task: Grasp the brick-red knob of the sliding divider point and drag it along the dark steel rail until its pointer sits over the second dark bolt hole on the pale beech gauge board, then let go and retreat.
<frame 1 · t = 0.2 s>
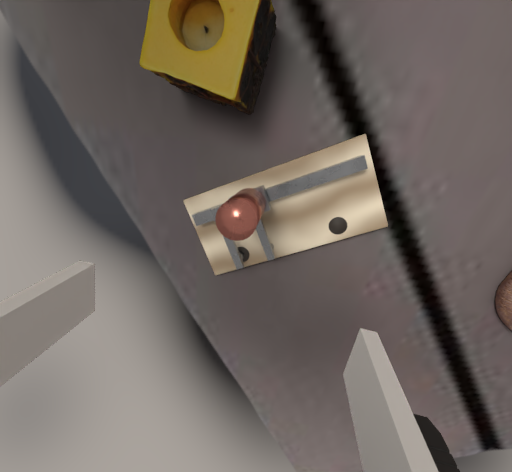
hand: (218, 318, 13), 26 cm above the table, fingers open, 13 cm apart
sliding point: (255, 232, 32), point 7 cm above the table, slide at 0.0 cm
gauge board: (282, 210, 38), on the table
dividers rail: (275, 190, 37), resting on gauge board
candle: (226, 59, 34), on the table
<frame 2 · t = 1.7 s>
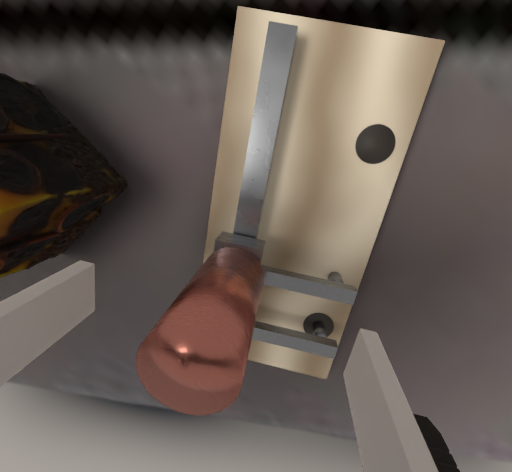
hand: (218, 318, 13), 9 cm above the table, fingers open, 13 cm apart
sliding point: (277, 307, 15), point 7 cm above the table, slide at 0.0 cm
gauge board: (290, 222, 21), on the table
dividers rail: (252, 214, 21), resting on gauge board
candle: (51, 176, 23), on the table
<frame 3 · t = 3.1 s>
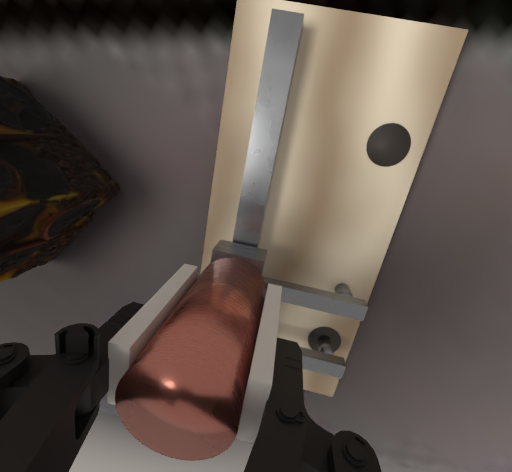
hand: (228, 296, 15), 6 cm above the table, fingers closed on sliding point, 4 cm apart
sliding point: (280, 326, 14), point 7 cm above the table, slide at 0.0 cm, touching gripper
gauge board: (294, 229, 19), on the table
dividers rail: (253, 220, 20), resting on gauge board
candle: (40, 178, 21), on the table
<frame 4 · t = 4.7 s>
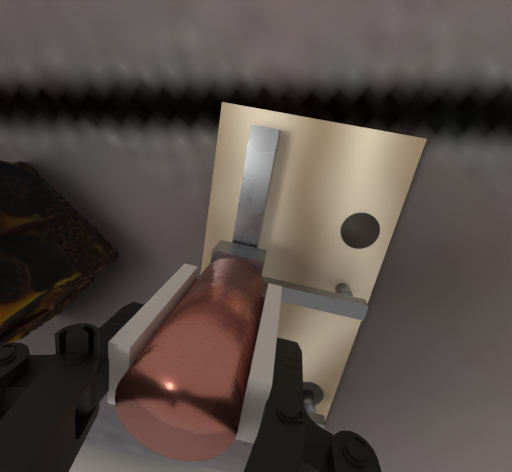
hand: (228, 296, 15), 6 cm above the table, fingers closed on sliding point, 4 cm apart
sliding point: (280, 326, 14), point 7 cm above the table, slide at 5.3 cm, touching gripper
gauge board: (279, 294, 21), on the table
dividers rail: (241, 285, 21), resting on gauge board
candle: (45, 243, 23), on the table
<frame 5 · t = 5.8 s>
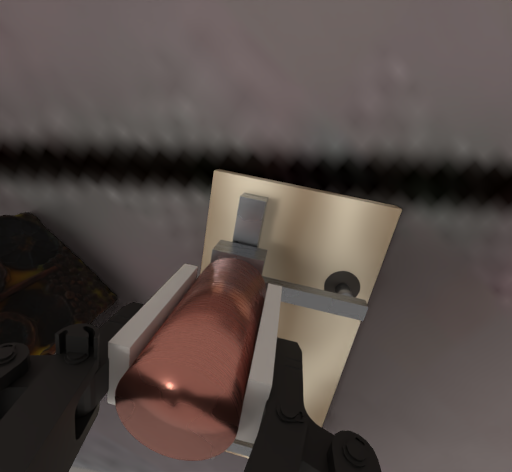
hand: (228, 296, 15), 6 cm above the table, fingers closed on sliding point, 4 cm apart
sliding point: (280, 326, 14), point 7 cm above the table, slide at 9.4 cm, touching gripper
gauge board: (268, 337, 22), on the table
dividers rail: (232, 328, 23), resting on gauge board
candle: (47, 284, 24), on the table
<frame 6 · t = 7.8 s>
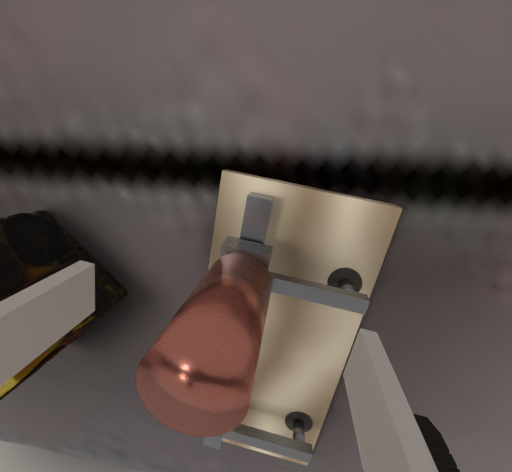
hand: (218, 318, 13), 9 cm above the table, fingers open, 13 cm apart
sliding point: (285, 317, 14), point 7 cm above the table, slide at 9.5 cm
gauge board: (272, 332, 23), on the table
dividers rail: (238, 323, 23), resting on gauge board
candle: (60, 280, 25), on the table
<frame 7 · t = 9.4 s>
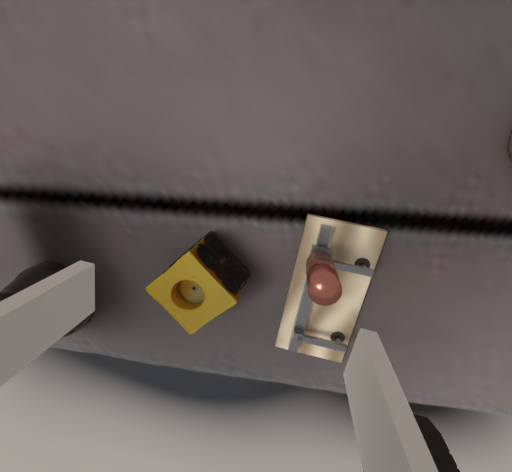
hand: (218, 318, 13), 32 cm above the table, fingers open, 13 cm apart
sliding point: (342, 275, 38), point 7 cm above the table, slide at 9.5 cm
gauge board: (325, 291, 46), on the table
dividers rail: (307, 287, 47), resting on gauge board
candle: (211, 267, 48), on the table
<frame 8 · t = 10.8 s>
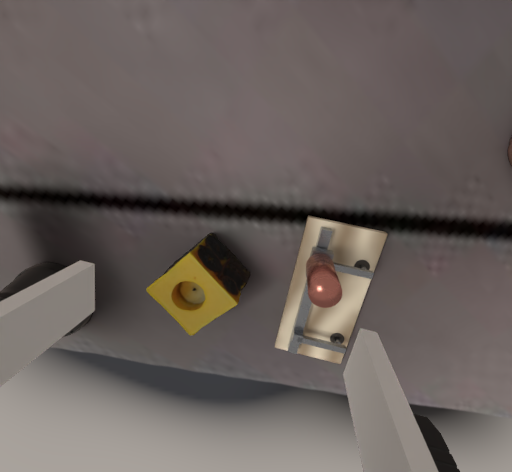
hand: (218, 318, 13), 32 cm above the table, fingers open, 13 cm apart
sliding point: (342, 277, 38), point 7 cm above the table, slide at 9.5 cm
gauge board: (324, 292, 47), on the table
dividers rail: (307, 288, 47), resting on gauge board
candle: (212, 268, 49), on the table
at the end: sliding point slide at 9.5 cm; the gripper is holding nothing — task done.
